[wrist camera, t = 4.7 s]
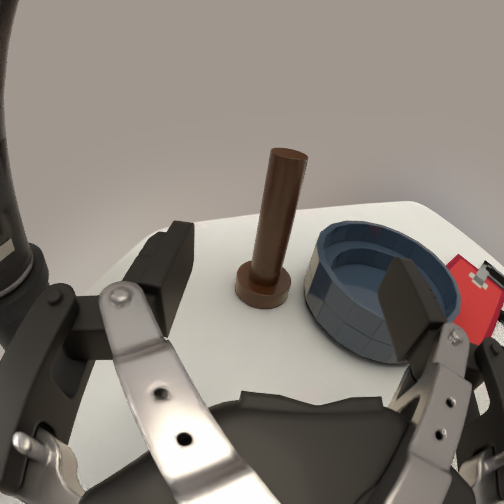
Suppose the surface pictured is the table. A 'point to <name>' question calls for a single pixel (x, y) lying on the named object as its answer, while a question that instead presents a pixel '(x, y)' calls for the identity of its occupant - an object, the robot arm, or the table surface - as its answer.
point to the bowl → (367, 284)
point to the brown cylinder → (273, 232)
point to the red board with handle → (478, 298)
